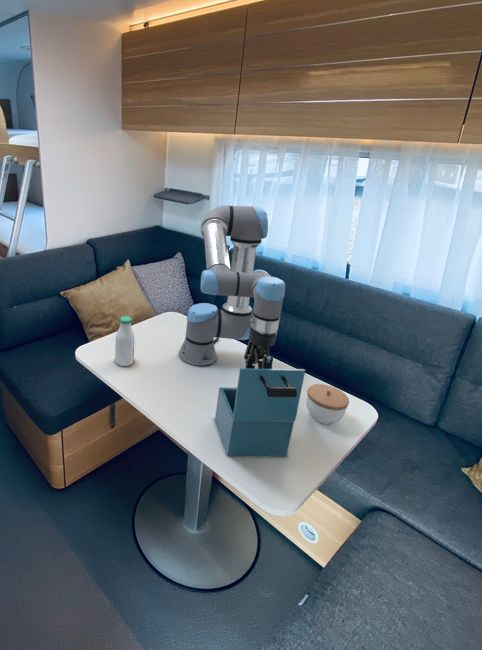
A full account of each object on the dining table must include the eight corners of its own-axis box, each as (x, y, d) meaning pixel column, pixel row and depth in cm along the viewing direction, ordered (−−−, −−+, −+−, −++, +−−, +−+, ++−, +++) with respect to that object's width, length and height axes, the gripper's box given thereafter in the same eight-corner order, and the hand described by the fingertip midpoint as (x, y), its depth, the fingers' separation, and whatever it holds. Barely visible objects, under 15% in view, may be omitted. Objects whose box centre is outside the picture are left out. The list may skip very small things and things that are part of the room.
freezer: (214, 419, 138) (219, 387, 133) (267, 420, 138) (273, 388, 134) (227, 455, 123) (232, 420, 118) (286, 456, 123) (294, 421, 119)
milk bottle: (131, 367, 166) (133, 323, 159) (113, 365, 167) (114, 321, 160) (134, 357, 173) (136, 315, 166) (117, 355, 174) (118, 313, 167)
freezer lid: (239, 368, 113) (250, 387, 104) (304, 369, 113) (319, 388, 105) (232, 418, 118) (241, 440, 110) (293, 419, 119) (307, 441, 110)
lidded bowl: (296, 405, 146) (301, 379, 142) (330, 404, 147) (336, 378, 143) (314, 430, 134) (321, 402, 130) (351, 429, 135) (358, 401, 131)
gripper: (239, 312, 130) (231, 372, 138) (264, 348, 109) (252, 416, 117) (263, 312, 130) (253, 372, 138) (292, 349, 109) (278, 416, 117)
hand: (252, 392), depth 128 cm, fingers open, 10 cm apart
